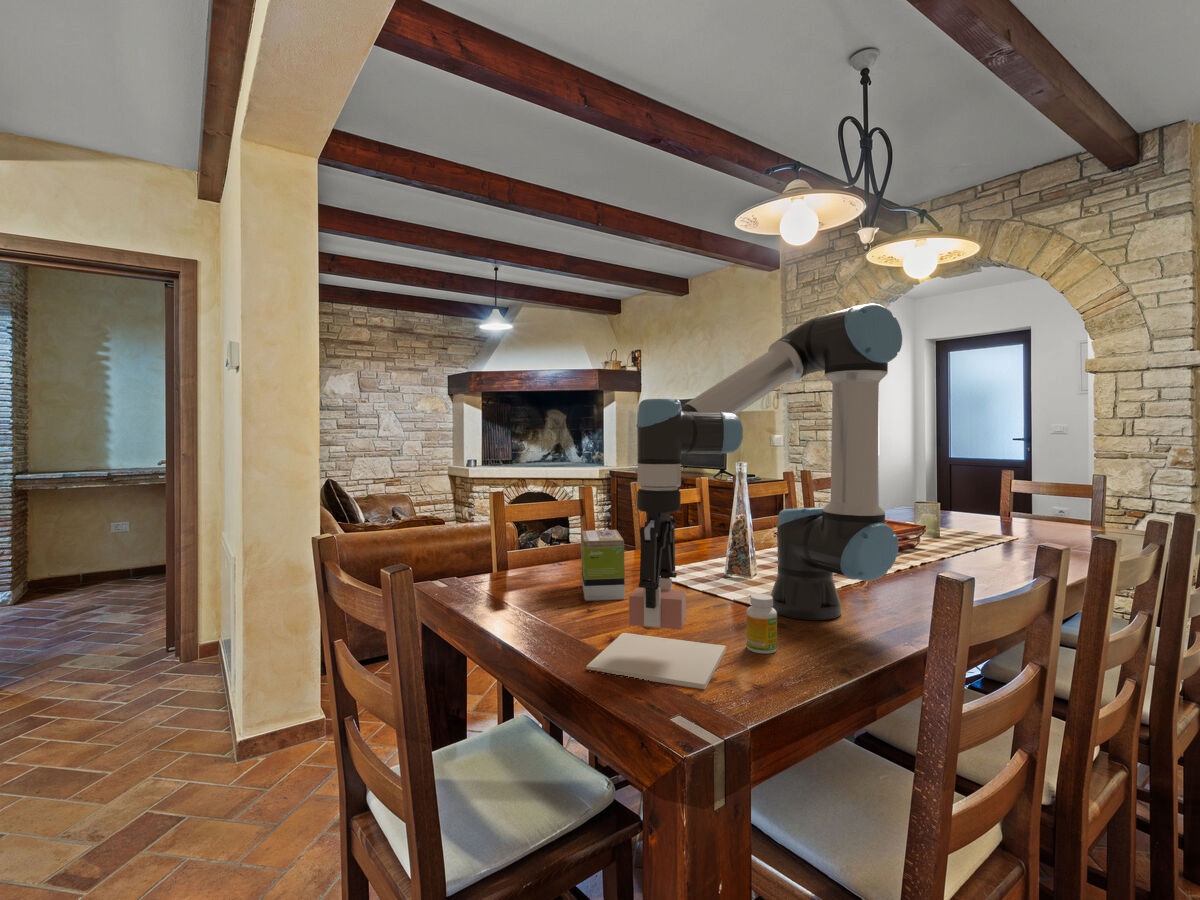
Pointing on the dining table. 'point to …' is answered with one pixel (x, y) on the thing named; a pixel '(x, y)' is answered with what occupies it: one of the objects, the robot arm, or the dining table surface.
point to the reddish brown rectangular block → (670, 608)
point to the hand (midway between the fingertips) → (658, 619)
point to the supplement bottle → (761, 625)
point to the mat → (660, 660)
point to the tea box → (602, 565)
